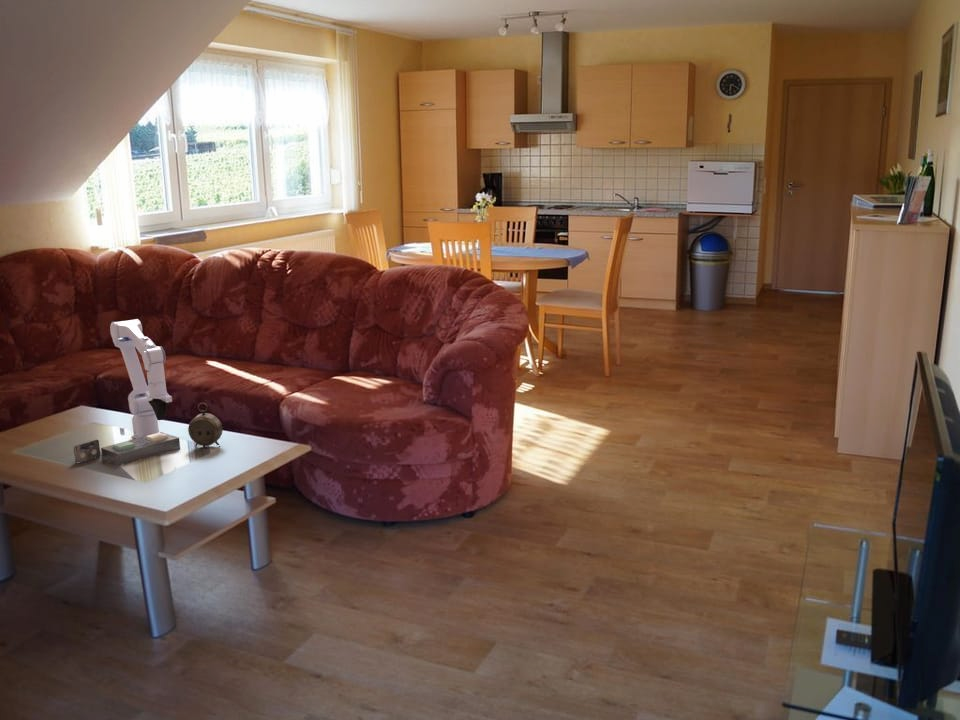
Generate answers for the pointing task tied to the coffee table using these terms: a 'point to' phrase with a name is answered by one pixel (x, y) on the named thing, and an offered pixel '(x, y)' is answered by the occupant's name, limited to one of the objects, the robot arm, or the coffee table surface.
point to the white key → (156, 437)
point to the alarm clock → (205, 429)
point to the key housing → (140, 450)
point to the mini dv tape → (86, 451)
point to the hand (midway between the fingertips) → (161, 419)
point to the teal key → (123, 446)
